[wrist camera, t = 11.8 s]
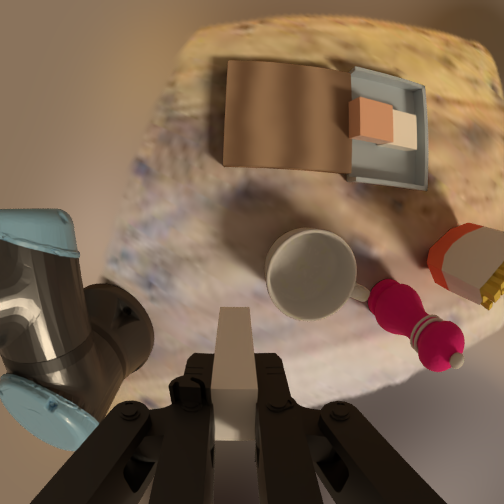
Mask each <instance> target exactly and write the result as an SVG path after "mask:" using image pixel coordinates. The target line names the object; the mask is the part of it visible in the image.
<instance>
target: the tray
mask: <svg viewBox="0 0 504 504" xmlns="http://www.w3.org/2000/svg"><path fill="white" fill-rule="evenodd" d="M348 73H351V90H352V100H354V99H356V98H358V97H363V98H367V99H371V100H375V101H378V102H382V103H386V104H389V105H393V110H397V111H401V112H405V113H409V114H412V115H416V123H417V150H412V151H402V150H397V149H392V148H386V147H381V146H377V143H372V142H366V141H361V140H355V139H352V170H351V173H348V174H347V178H346V181H347V182H357V183H366V184H374V185H383V186H390V187H398V188H405V189H412V190H422V191H427V186H428V120H427V104H426V92H425V86H424V85H421V84H418V83H415V82H412V81H409V80H405V79H402V78H399V77H395V76H392V75H388V74H385V73H381V72H377V71H373V70H369V69H365V68H361V67H356V66H355V67H354V68H353V69H352V70H351V71H350V72H348Z"/></svg>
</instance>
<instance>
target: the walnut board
mask: <svg viewBox="0 0 504 504" xmlns="http://www.w3.org/2000/svg"><path fill="white" fill-rule="evenodd" d="M350 101H352V90H351V73H348V72H343V71H337V70H332V69H326V68H319V67H312V66H305V65H297V64H287V63H276V62H262V61H237V60H228V70H227V86H226V104H225V125H224V149H223V166H224V167H250V168H274V169H291V170H305V171H318V172H329V173H340V174H348V173H351V170H352V139H349V103H348V102H350Z"/></svg>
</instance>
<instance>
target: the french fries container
mask: <svg viewBox="0 0 504 504" xmlns="http://www.w3.org/2000/svg"><path fill="white" fill-rule="evenodd" d="M427 265H428V267H429V269H430V272H431V274H432V277H433V279H434V281H435V283H437V284H438V285H440V286H442V287H444V288H445V289H447V290H449V291H451V292H453V293H455V294H457V295H460V296H462V297H464V298H466V299H468V300H470V301H473V302H475V303H477V304H479V305H480V304H481V305H482V306H484V307H485V308H486V309H488V310H490V309H491V308H492V304H493V302H496V301H497V300H498V299H499V298H500V295H503V294H504V232H503V231H499V230H495V229H492V228H488V227H484V226H480V225H476V224H472V223H466V224H463V225H460V226H458V227H455V228H452V229H450V230H449V231H448V232H447V233H446V234H445V235H444V236H443V237H442V238H441V239H439V240H438V241H437V242H436V243H435V244H434V245H433V246H432V247H431V248H430V249H429V254H428V259H427ZM489 299H490V300H489ZM492 301H493V302H492Z"/></svg>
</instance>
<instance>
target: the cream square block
mask: <svg viewBox="0 0 504 504" xmlns="http://www.w3.org/2000/svg"><path fill="white" fill-rule="evenodd" d="M377 146H381V147H386V148H392V149H397V150H402V151H412V150H417V123H416V115H412V114H409V113H405V112H401V111H397V110H393V142H392V143H386V144H377Z"/></svg>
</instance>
